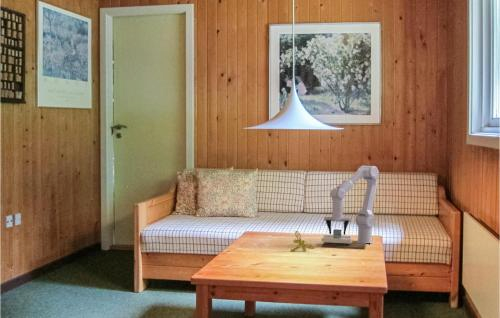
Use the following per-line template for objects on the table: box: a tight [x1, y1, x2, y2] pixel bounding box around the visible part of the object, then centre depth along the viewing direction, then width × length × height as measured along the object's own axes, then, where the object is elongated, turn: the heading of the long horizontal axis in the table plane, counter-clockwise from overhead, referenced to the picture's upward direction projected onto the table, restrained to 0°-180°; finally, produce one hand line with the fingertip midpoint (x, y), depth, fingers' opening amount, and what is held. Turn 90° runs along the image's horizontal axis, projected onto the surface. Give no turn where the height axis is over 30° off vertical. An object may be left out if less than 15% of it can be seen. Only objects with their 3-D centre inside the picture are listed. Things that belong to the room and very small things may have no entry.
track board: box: [321, 242, 367, 250], centre depth 301 cm, size 12×23×1 cm, turn 76°
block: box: [332, 228, 342, 239], centre depth 302 cm, size 4×4×5 cm
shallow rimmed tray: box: [321, 234, 354, 245], centre depth 302 cm, size 10×16×3 cm, turn 76°
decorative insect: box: [290, 230, 315, 252], centre depth 287 cm, size 13×3×10 cm
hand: (337, 234), depth 302 cm, fingers open, 7 cm apart
